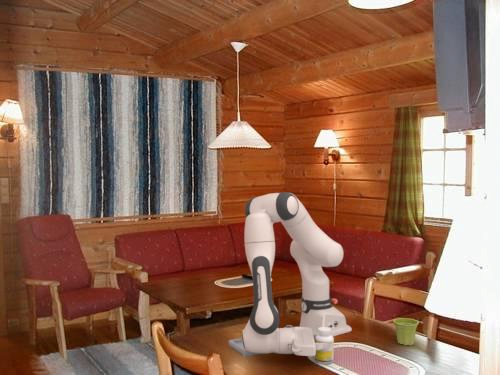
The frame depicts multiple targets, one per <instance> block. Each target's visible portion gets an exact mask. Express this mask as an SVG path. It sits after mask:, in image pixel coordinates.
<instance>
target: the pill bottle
mask: <svg viewBox="0 0 500 375" xmlns="http://www.w3.org/2000/svg"><path fill="white" fill-rule="evenodd" d="M318 333H319V334H318V335H317V336H316V338H315V340H314V341H315V343H323V342H327V343H328V349H321V350H316V355H315V356H314V357H315V358H314V359H315V362H317V363H319V364H323V365H328V364H329V365H330V364H332V363H333V362H334V361H335V360H334V357H335V356H334V353H335V350H334V349H335V346H334V345H335V338H334V336H332V335H331V328H328V327H320V328H318Z"/></svg>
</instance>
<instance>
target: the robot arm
mask: <svg viewBox="0 0 500 375" xmlns="http://www.w3.org/2000/svg"><path fill="white" fill-rule="evenodd" d="M244 215H245V223H244V232H243V233H244V236H243V237H244V240H243V241H244V249H245V250H244V251H245V256H246V260H247V263H248V266H249V269H250V273H251V277H252V287H253V289H252V290H253V307H252V310H251V313H250V314H249V315H250V316H249V319H248V321H247V323H246V325H245V327H244V328H243V329H242V330H241V338H242V341H243V345H244V348H245V349H246V350H247V351H248V352H252V353H262V354H264V355H265V354H267V355H268V354H271V353H273V354H274V353H275V354H278V355H296V356H301V357H302V356H303V357H304V356H305V357H315V355H316V350H321V349H328V343H327V342H323V343H315V338H316V336H317V335H318V334H319V333H318V328H320V327H328V328H331V335H332V336H333V337H337V336H339V335H343V334H347V333H350V332H352V331H353V330H352V327H351V326H350V325H349V324H347V320H346V317H345V315H344V314H343V313H342V312H341V311H339V309H337V308H336V307H335V306H334V305H336V304H338V302H339V301H338V299H337V298H332V297H330V278H329V277H328V276H327V274H326V273H325V272H324V271H323V267H325V268H334V267H337V266H339V265H340V264H341V263H342V262H343V259H344V248H343V246H342V245H341V244H340V243H338V242H337V241H335V240H333V238H331V237H330V236H328V234H326V233H325V232H324V231H323V230H322V229H321V228H320V227H318V225H317V224H316V223H315V222H314V219H313V218H312V217H311V215H310V213H309V212H308V211H307V209H306V208H305V206H304V204H303V203H302V202H301V201H300V200H299V199H298V197H297V196H296V195H295V194H294V193H292V192H286V191H285V192H284V191H282V192H274V193H267V194H263V195H261V196H255V197H252V198H250V199H248V200H247V202H246V204H245V206H244ZM275 223H281V225H282V226H283V227H284V229H285V231H286V232H287V234H288V235H289V236H290V238H291V239H292V241H291V243H290V248H289V252H290V255H291V257H292V258H293V259H294V260H295V262H296V263H297V265H298V268H299V272H300V276H301V286H302V287H301V288H302V291H301V293H302V295H301V302H300V306H301V308H300V309H301V316H300V322H299V326H293V325H291V324H289V325H288V324H287V325H286V326H285V327H283V328H282V327H280V328H279V325H280V314H279V311H278V308H277V306H276V305H275V304H274V301H273V293H272V291H273V290H272V270H273V266H274V262H275V256H276V241H275V240H276V239H275V231H274V226H273V225H274V224H275ZM333 304H334V305H333ZM262 354H261V355H262Z"/></svg>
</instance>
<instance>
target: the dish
mask: <svg viewBox="0 0 500 375" xmlns="http://www.w3.org/2000/svg"><path fill="white" fill-rule="evenodd" d="M228 347H230V348H231V349H232V350H233V351H235V352H236V353H238V354H239V355H241V356H242V357H244V358H246V357H252V356H256V355H257V356H258V355H262V353H252V352H248V351H247V350H246V349H245V348H244V345H243V341H242V337H241V338H235V339H229V340H228Z"/></svg>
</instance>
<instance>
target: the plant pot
mask: <svg viewBox="0 0 500 375" xmlns="http://www.w3.org/2000/svg"><path fill="white" fill-rule="evenodd" d="M393 323H394V326H395V331H396V340H397V344H399V343H400V344H404V345H403V346H413V345H414V344H415V340H416V333H417V328H418V325H419V321H418V320H416V319H414V318H413V319H412V318H406V317H402V318H401V317H398V318H395V319H393ZM400 344H399V345H400Z"/></svg>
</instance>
